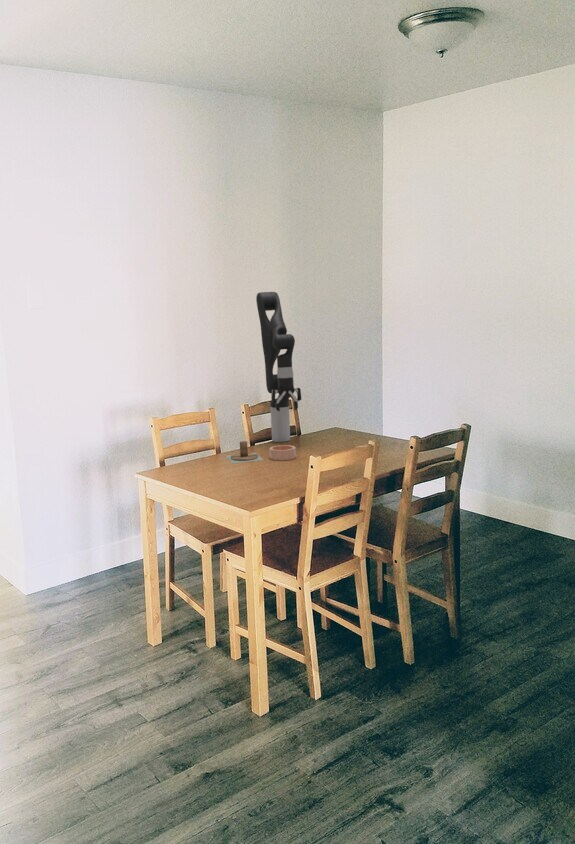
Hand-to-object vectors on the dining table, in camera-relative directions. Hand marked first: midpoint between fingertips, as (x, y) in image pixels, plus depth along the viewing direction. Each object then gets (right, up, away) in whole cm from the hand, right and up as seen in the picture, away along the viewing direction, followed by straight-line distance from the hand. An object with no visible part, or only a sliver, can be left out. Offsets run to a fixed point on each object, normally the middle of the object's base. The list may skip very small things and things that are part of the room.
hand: (287, 410), depth 341 cm
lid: (-19, -22, -22) cm, 37 cm away
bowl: (-2, -22, -25) cm, 33 cm away
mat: (-19, -22, -22) cm, 37 cm away
